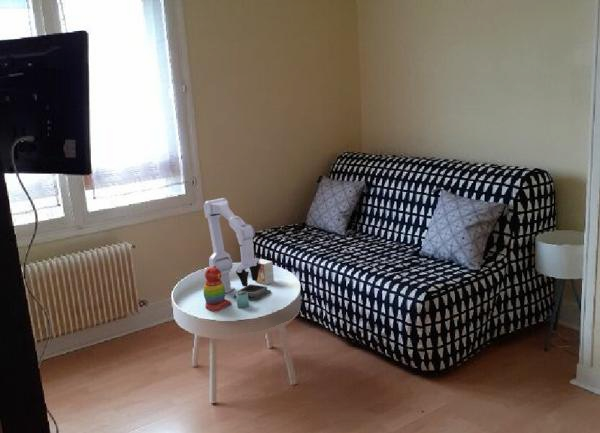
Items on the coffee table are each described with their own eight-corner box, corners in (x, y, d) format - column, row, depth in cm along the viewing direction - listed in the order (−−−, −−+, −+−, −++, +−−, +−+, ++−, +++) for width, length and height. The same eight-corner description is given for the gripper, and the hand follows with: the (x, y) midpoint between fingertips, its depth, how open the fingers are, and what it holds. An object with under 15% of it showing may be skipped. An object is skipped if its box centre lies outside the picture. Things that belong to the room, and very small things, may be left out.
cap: (235, 307, 263) (233, 293, 262) (241, 303, 267) (240, 289, 266) (244, 309, 260) (243, 295, 259) (251, 305, 265) (249, 291, 263)
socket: (234, 297, 275) (233, 291, 274) (249, 289, 285) (249, 283, 284) (256, 301, 269) (255, 294, 268) (271, 292, 278) (270, 286, 278)
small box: (255, 281, 294) (253, 261, 292) (263, 278, 298) (262, 258, 296) (265, 285, 289) (263, 264, 286) (274, 282, 292) (272, 261, 290)
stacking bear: (217, 312, 259) (213, 272, 255) (199, 308, 264) (195, 270, 260) (233, 303, 268) (229, 265, 264) (215, 300, 273) (211, 262, 269)
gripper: (245, 259, 252) (247, 289, 256) (264, 249, 265) (266, 279, 268) (231, 257, 256) (234, 287, 259) (250, 248, 268) (253, 277, 271)
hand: (249, 283), depth 264 cm, fingers open, 7 cm apart
